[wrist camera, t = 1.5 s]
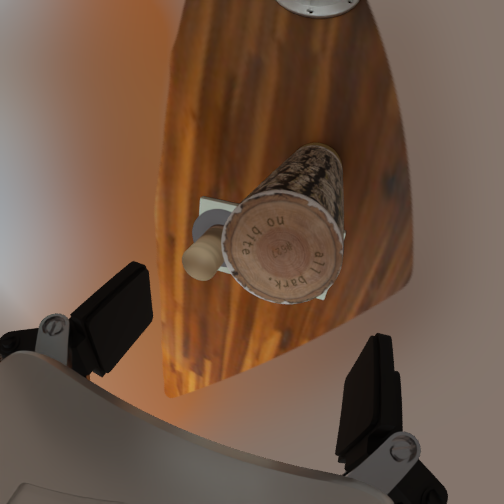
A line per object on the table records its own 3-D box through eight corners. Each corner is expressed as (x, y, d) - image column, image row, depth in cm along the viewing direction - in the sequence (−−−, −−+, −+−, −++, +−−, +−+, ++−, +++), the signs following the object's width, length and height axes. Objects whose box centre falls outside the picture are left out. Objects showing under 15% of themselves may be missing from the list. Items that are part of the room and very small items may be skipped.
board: (197, 194, 44) (193, 197, 43) (345, 230, 39) (345, 234, 38) (194, 259, 50) (191, 262, 49) (324, 296, 45) (323, 300, 44)
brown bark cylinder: (351, 176, 36) (364, 279, 15) (309, 199, 39) (263, 317, 18) (325, 132, 34) (300, 167, 13) (282, 157, 37) (198, 229, 16)
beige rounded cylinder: (206, 221, 44) (181, 243, 37) (237, 228, 43) (217, 253, 36) (205, 249, 47) (181, 274, 40) (234, 257, 46) (214, 285, 39)
